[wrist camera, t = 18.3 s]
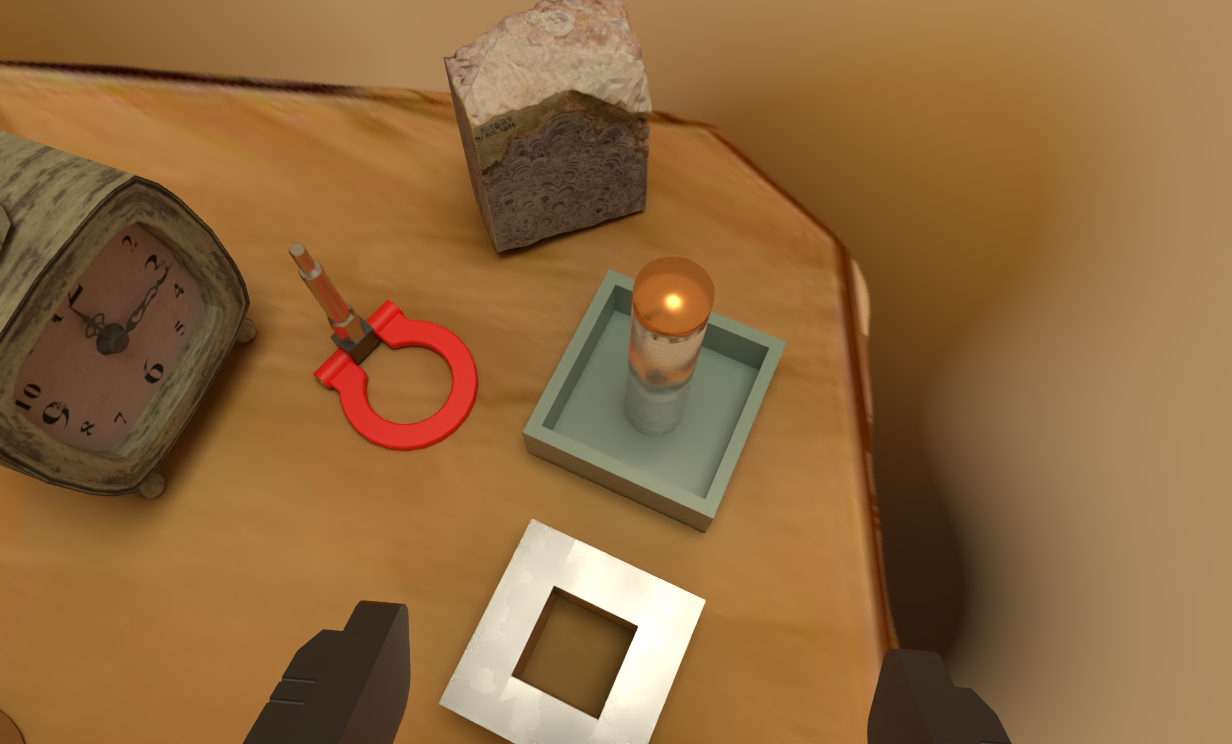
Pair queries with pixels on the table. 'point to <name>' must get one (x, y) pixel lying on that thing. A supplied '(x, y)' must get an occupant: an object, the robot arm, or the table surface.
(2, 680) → the table surface
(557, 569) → the block
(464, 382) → the tow hook
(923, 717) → the robot arm
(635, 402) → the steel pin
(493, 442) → the table surface
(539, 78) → the geological specimen
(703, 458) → the tray
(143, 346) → the tabletop clock
